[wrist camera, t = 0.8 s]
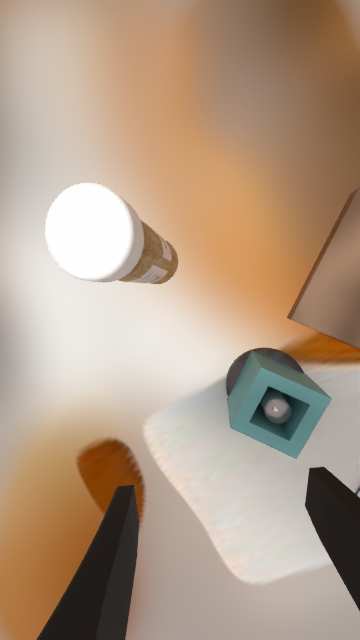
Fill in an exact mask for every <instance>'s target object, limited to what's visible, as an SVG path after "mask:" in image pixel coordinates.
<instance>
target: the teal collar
mask: <svg viewBox="0 0 360 640" xmlns="http://www.w3.org/2000/svg"><path fill="white" fill-rule="evenodd" d="M268 386H270V387H272V388H274V389H277V390H279V391H281V392H283V394H282V395H283V396H284V398H285V399H286V401H287V403H288V404H289V406H290V408H291V416H290V418H289V419H288V420H287V421H286V422H284V423H281V424H277V423H273V422H271V421H269V420H268V418H267V417H266V415H265V412H264V410H263V407H262V405H261V403H260V401H261V399H262V397H263V395H264V393H265V391H266V389H267V387H268ZM227 400H228V409H229V419H230V428H232V429H235V430H237V431H239V432H241V433H243V434H245V435H247V436H249V437H251V438H253V439H256V440H258V441H260V442H262V443H264V444H266V445H268V446H270V447H272V448H275V449H277V450H279V451H281V452H283V453H285V454H287V455H289V456H291V457H293V458H297V457H298V455H299V453H300V452H301V450H302V448H303V447H304V445H305V443H306V442H307V440H308V438H309V436H310V435H311V433H312V431H313V430H314V428H315V426H316V425H317V423H318V421H319V420H320V418H321V416H322V414H323V413H324V411H325V409H326V408H327V406H328V404H329V403H330V401H331V398H330V397H329V396H328V395H327V394H326V393H325V392H324V391H323V390H322V389H321V388H320V387H319V386H318V385H317V384H316V383H315V382H314V381H313V380H311V379H310V378H309V377H308V376H307V375H306V374H304V373H301V372H299V371H297V370H294V369H292V368H290V367H288V366H285V365H283V364H281V363H279V362H276V361H274V360H272V359H270V358H267V357H265V356H263V355H261V354H258V353H256V352H254V351H251V353H250V355H249V357H248V359H247V361H246V363H245V365H244V367H243V369H242V371H241V373H240V375H239V377H238V379H237V381H236V383H235V385H234V387H233V389H232V391H231V393H230V395H229V397H228V399H227Z"/></svg>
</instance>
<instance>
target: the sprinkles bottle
mask: <svg viewBox="0 0 360 640" xmlns="http://www.w3.org/2000/svg"><path fill="white" fill-rule="evenodd" d="M45 236H46V242H47V246H48V249H49V251H50V253H51V256H52V257H53V259H54V260H55V262H56V263H57V264H58V266H59V267H60V268H61V269H63V270H64V271H65V272H66V273H68V274H69V275H71V276H73V277H75V278H78V279H81V280H86V281H93V282H112V281H116V280H118V281H124V282H138V283H151V284H161V283H164V282H166V281H168V280H169V279H170V278H171V277H173V275H174V273H175V272H176V269H177V266H178V259H177V253H176V251H175V249H174V248H173V246H172V245H171V244H170V243H168V242H167V241H165V240H164V239H163V238H162V237H161V236H159V235H158V234H157V233H156V232H155V231H154V230H153V229H152V228H150V227H149V226H148V225H147V224H146V223H144V222H143V221H141V220H140V218H139V217H138V215H137V213H136V211H135V210H134V209H133V208H132V207H131V206H130V205H129V204H128V203H127V202H126V201H125V200H124V199H123V198H122V197H121V196H120V195H118V194H117V193H116V192H115V191H113V190H112V189H110V188H108V187H106V186H104V185H101V184H98V183H90V182H89V183H79V184H76V185H73V186H71V187H69V188H67V189H66V190H64V191H63V192H62V193H61V194H60V195H59V196H58V197H57V198H56V199H55V200H54V202H53V203H52V205H51V207H50V209H49V212H48V214H47V218H46V223H45Z"/></svg>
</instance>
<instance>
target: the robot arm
mask: <svg viewBox="0 0 360 640" xmlns="http://www.w3.org/2000/svg"><path fill="white" fill-rule="evenodd" d="M305 507H306V509H307V511H308V514H309V516H310V518H311V521H312V523H313V525H314V527H315V530H316V532H317V534H318V536H319V538H320V540H321V542H322V544H323V546H324V547H325V549H326V551H327V553H328V555H329V557H330V558H331V560H332V562H333V564H334V566H335V567H336V569H337V571H338V573H339V574H340V576H341V578H342V580H343V582H344V584H345V585H346V587H347V589H348V591H349V593H350V594H351V596H352V598H353V600H354V601H355V603H356V605H357V607H358V609H359V610H360V491H359V492H358V494H357V495H356V494H355V493H354V492H352V491H351V490H350V489H349V488H348V487H347V486H346V485H344V484H343V483H342V482H341V481H340V480H339V479H338V478H336V477H335V476H334V475H333V474H332V473H331V472H329V471H328V470H327V469H326V468H325V467H318V468H310V469H309V477H308V486H307V494H306V502H305ZM138 530H139V519H138V512H137V505H136V498H135V490H134V485H129V486H119V487H118V488H117V489H116V490H115V493H114V495H113V498H112V500H111V503H110V505H109V507H108V509H107V512H106V514H105V516H104V518H103V520H102V523H101V525H100V527H99V529H98V531H97V533H96V535H95V537H94V539H93V541H92V543H91V545H90V547H89V549H88V551H87V553H86V555H85V557H84V559H83V561H82V562H81V564H80V566H79V568H78V570H77V571H76V574H75V575H74V577H73V579H72V581H71V583H70V584H69V586H68V588H67V590H66V591H65V593H64V595H63V597H62V598H61V600H60V602H59V604H58V605H57V607H56V609H55V610H54V612H53V614H52V615H51V617H50V619H49V620H48V622H47V624H46V625H45V627H44V628H43V630H42V632H41V633H40V635H39V636H38V638H37V640H125V636H126V630H127V623H128V616H129V609H130V602H131V595H132V588H133V581H134V574H135V566H136V558H137V547H138Z"/></svg>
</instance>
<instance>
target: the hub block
mask: <svg viewBox="0 0 360 640" xmlns="http://www.w3.org/2000/svg"><path fill="white" fill-rule="evenodd" d="M287 318H289V319H291V320H293V321H296V322H298V323H300V324H303V325H305V326H307V327H310V328H312V329H314V330H317V331H319V332H321V333H324V334H326V335H328V336H331V337H333V338H336V339H338V340H340V341H343V342H345V343H347V344H350V345H352V346H354V347H357V348H359V349H360V189H359V188H358V189H357V190H355V191H354V192H352V193H351V194H350V196H349V198H348V200H347V202H346V204H345V206H344V208H343V210H342V212H341V213H340V216H339V217H338V220H337V221H336V223H335V225H334V227H333V229H332V231H331V233H330V235H329V237H328V239H327V241H326V243H325V245H324V247H323V249H322V250H321V252H320V254H319V256H318V258H317V260H316V262H315V264H314V266H313V268H312V270H311V272H310V274H309V276H308V278H307V280H306V282H305V284H304V285H303V287H302V289H301V291H300V293H299V295H298V297H297V299H296V301H295V303H294V305H293V307H292V309H291V311H290V313H289V315H288V317H287Z"/></svg>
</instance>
